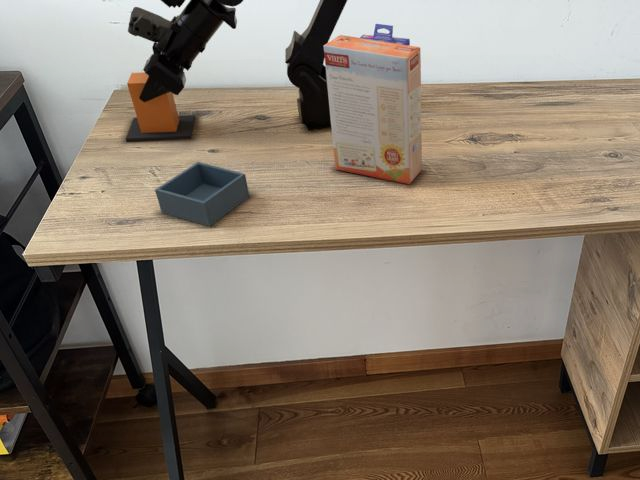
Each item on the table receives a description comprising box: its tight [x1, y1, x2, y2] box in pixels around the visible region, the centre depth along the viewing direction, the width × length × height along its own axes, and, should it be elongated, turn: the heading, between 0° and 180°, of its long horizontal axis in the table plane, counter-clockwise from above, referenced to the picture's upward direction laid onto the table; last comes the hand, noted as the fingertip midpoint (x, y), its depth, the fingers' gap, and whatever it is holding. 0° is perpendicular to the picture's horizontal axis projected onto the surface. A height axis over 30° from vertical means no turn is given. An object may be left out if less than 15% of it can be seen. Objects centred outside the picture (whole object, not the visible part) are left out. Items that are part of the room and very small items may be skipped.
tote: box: [154, 161, 250, 227], centre depth 106 cm, size 10×9×4 cm
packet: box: [126, 71, 180, 133], centre depth 123 cm, size 6×5×9 cm
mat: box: [125, 114, 196, 143], centre depth 126 cm, size 11×9×1 cm
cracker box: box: [324, 34, 423, 185], centre depth 111 cm, size 14×6×21 cm, turn 71°
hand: (144, 94), depth 121 cm, fingers closed on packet, 5 cm apart
